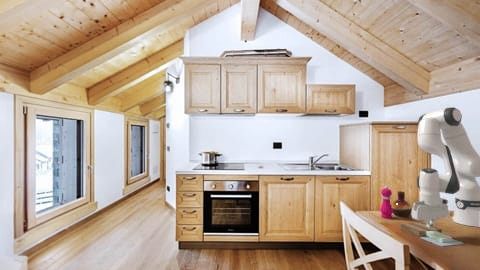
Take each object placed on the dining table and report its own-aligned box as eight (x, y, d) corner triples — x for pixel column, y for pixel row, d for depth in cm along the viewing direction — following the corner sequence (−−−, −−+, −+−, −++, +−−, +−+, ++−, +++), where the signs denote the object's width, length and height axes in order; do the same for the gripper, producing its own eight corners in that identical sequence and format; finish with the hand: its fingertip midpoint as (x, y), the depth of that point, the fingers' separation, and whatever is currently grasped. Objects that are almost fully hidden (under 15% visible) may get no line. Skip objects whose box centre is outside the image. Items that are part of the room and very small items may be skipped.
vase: (403, 219, 169) (403, 194, 169) (387, 214, 179) (387, 191, 179) (415, 217, 173) (415, 192, 173) (399, 212, 183) (399, 189, 183)
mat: (441, 235, 141) (441, 234, 141) (463, 244, 129) (463, 243, 129) (420, 237, 138) (420, 237, 138) (441, 246, 127) (441, 245, 127)
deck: (421, 227, 153) (421, 222, 153) (441, 235, 141) (441, 229, 141) (400, 229, 150) (400, 224, 150) (419, 237, 138) (419, 231, 138)
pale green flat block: (435, 234, 140) (435, 230, 140) (452, 241, 132) (452, 237, 131) (425, 235, 139) (425, 231, 139) (441, 242, 130) (442, 238, 130)
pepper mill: (386, 219, 168) (386, 187, 168) (377, 216, 175) (377, 185, 175) (395, 218, 170) (395, 186, 170) (386, 215, 177) (386, 184, 177)
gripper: (419, 203, 135) (419, 231, 134) (450, 200, 140) (451, 227, 140) (408, 200, 141) (408, 227, 140) (438, 197, 146) (439, 223, 146)
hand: (430, 227), depth 140 cm, fingers closed
